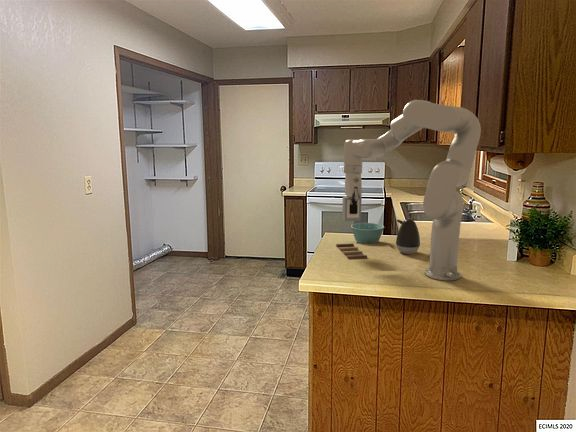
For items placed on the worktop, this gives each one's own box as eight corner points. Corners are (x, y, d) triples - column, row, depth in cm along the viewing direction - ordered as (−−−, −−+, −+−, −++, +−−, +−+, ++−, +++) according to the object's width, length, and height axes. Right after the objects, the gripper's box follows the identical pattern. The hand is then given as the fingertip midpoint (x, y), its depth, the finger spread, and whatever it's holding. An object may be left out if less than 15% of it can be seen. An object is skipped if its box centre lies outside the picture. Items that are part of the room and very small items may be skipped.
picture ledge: (367, 261, 171) (367, 255, 170) (348, 262, 170) (348, 256, 169) (353, 248, 191) (353, 243, 190) (336, 249, 190) (336, 244, 189)
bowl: (369, 248, 192) (369, 230, 190) (343, 242, 204) (344, 225, 202) (390, 243, 202) (390, 226, 200) (365, 237, 213) (365, 221, 212)
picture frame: (360, 220, 176) (361, 197, 174) (344, 221, 175) (345, 197, 173) (358, 219, 180) (358, 196, 178) (342, 219, 179) (342, 196, 177)
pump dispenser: (398, 248, 191) (400, 215, 189) (422, 251, 186) (423, 217, 183) (392, 253, 183) (393, 219, 180) (416, 256, 178) (418, 221, 175)
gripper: (367, 171, 166) (366, 216, 169) (355, 168, 182) (354, 209, 186) (349, 171, 165) (348, 216, 168) (339, 168, 181) (338, 209, 185)
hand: (351, 212), depth 177 cm, fingers closed on picture frame, 4 cm apart
